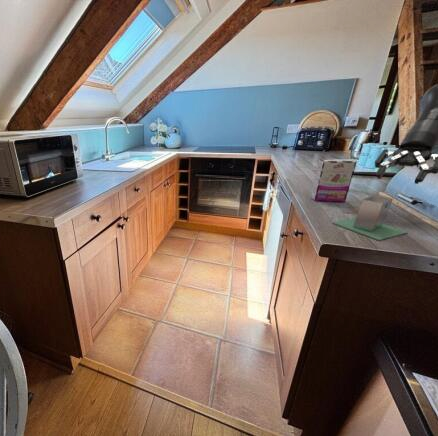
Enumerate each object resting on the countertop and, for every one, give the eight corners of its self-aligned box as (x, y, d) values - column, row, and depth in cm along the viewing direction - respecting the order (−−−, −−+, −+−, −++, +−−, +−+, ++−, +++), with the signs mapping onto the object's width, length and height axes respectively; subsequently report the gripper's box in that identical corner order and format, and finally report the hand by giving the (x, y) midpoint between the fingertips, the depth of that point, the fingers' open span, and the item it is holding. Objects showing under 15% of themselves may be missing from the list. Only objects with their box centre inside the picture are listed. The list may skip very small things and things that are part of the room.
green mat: (359, 217, 83) (359, 216, 83) (407, 233, 72) (408, 232, 71) (332, 223, 79) (332, 222, 79) (378, 241, 68) (379, 239, 67)
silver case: (352, 227, 75) (361, 199, 72) (363, 221, 79) (372, 194, 76) (372, 232, 71) (383, 203, 68) (382, 226, 75) (393, 198, 72)
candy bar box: (339, 199, 102) (351, 159, 95) (345, 202, 97) (358, 161, 91) (309, 197, 104) (319, 158, 98) (313, 201, 100) (324, 160, 93)
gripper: (454, 148, 73) (428, 191, 72) (391, 145, 84) (368, 182, 83) (458, 130, 68) (431, 176, 67) (391, 129, 80) (366, 168, 78)
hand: (396, 179), depth 75 cm, fingers open, 8 cm apart
